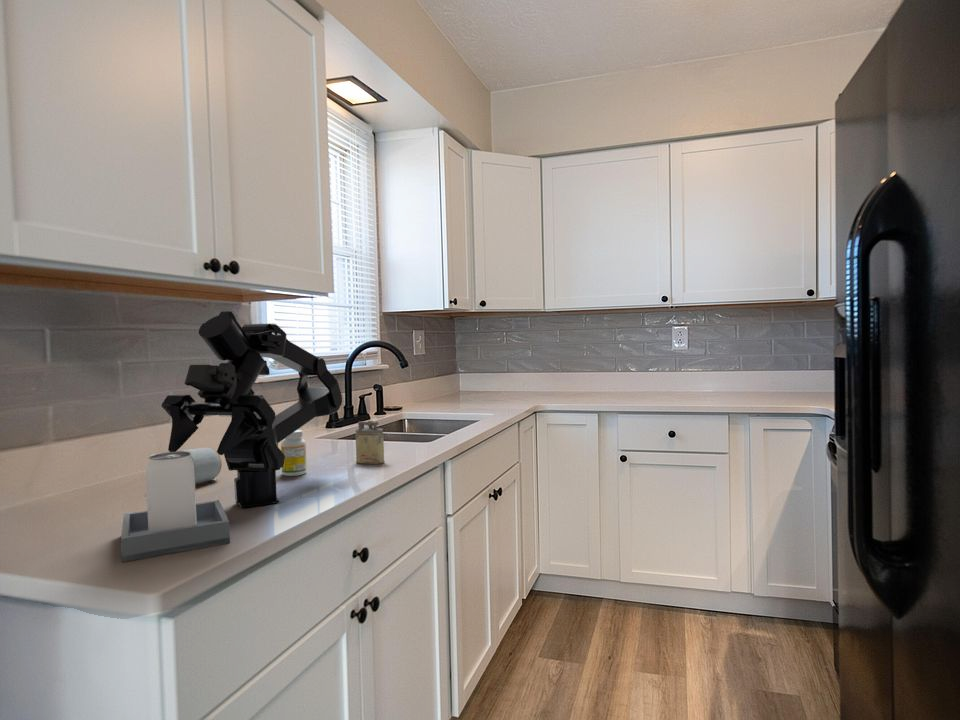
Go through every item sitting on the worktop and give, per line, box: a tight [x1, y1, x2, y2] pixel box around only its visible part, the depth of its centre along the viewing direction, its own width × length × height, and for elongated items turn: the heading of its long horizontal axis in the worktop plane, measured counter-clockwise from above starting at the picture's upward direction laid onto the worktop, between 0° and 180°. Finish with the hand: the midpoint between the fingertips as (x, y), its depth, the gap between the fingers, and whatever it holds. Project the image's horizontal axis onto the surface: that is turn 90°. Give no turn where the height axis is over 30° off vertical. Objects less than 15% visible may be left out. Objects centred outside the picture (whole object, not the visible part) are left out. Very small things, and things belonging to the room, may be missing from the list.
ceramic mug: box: [176, 447, 222, 486], centre depth 124 cm, size 11×8×8 cm
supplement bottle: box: [280, 429, 308, 477], centre depth 130 cm, size 5×5×10 cm
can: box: [145, 450, 197, 533], centre depth 88 cm, size 6×6×12 cm
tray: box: [120, 500, 231, 563], centre depth 88 cm, size 14×14×3 cm
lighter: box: [355, 420, 385, 465], centre depth 140 cm, size 7×4×10 cm, turn 74°
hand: (194, 452), depth 92 cm, fingers open, 9 cm apart
